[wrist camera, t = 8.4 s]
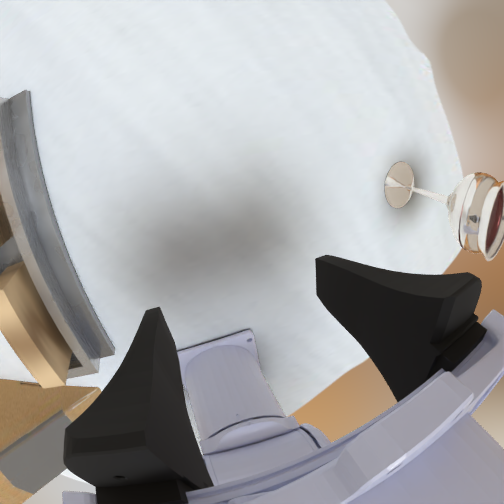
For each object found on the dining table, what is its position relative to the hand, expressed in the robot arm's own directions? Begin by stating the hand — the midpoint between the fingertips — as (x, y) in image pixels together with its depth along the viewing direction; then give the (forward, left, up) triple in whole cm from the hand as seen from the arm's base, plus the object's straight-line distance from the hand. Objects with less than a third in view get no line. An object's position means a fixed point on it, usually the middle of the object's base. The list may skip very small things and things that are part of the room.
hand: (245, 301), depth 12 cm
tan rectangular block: (-2, +15, -9) cm, 17 cm away
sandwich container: (-15, +23, -10) cm, 29 cm away
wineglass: (0, -20, -10) cm, 22 cm away
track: (+3, +15, -9) cm, 18 cm away
